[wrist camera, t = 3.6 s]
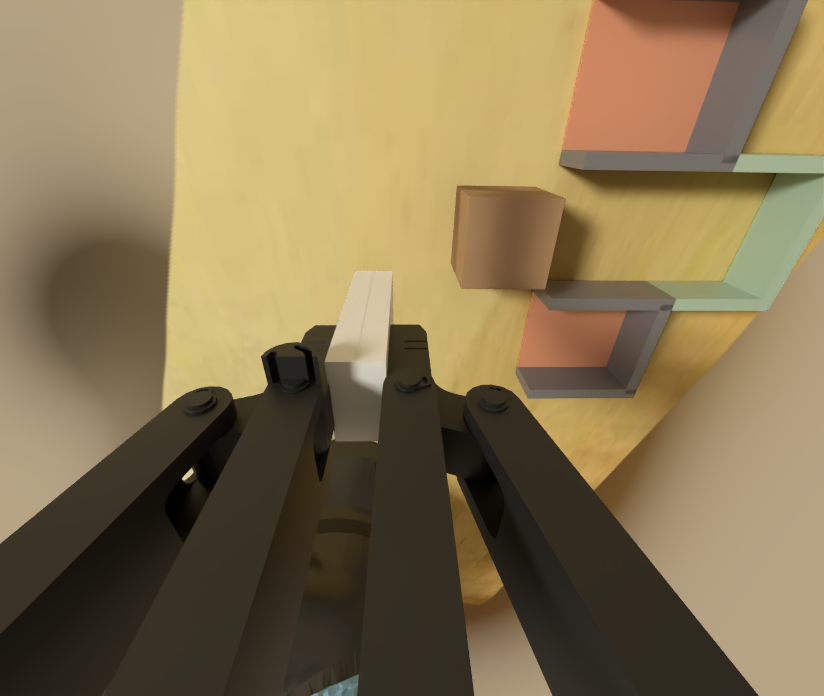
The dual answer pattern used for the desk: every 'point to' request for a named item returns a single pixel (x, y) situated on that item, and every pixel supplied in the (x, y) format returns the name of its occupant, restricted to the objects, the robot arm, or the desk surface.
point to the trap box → (670, 151)
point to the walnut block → (504, 236)
